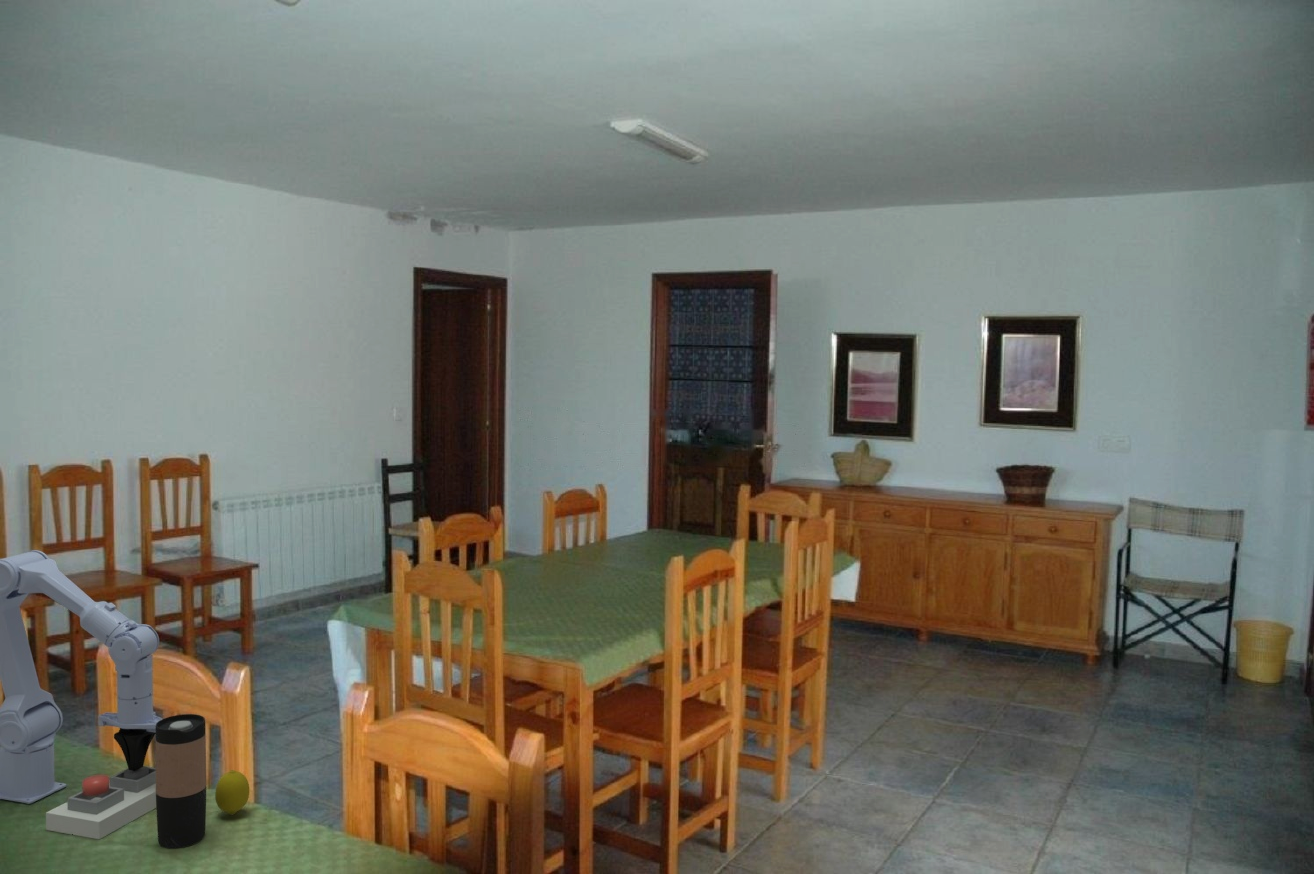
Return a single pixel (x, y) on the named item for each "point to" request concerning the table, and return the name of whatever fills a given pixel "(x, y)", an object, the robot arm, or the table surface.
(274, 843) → the table surface
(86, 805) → the button panel
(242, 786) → the lemon
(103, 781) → the red button
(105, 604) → the robot arm
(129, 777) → the grey button
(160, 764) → the travel mug
